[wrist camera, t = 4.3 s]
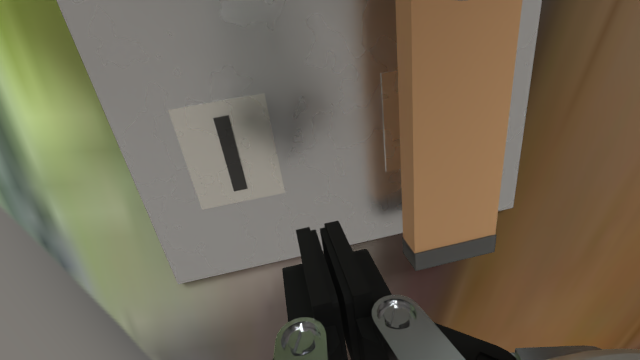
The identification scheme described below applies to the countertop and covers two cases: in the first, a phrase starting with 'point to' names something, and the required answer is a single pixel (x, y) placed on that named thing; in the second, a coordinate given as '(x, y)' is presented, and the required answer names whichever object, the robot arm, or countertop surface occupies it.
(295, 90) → the board
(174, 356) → the countertop surface
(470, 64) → the swing arm
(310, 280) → the robot arm
